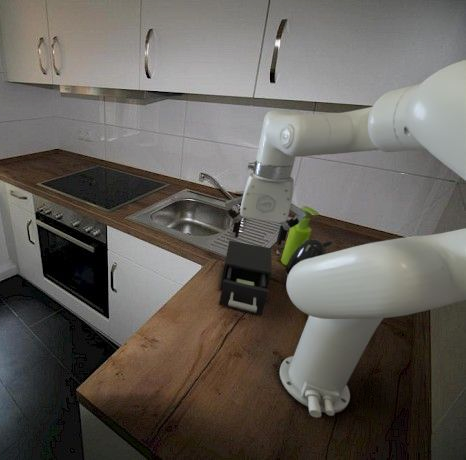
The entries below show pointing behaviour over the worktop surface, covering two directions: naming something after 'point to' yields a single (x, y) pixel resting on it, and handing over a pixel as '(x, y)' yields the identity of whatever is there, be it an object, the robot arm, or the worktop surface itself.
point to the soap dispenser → (297, 235)
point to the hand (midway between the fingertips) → (257, 238)
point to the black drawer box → (248, 259)
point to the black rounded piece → (307, 252)
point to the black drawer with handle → (244, 291)
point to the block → (245, 282)
